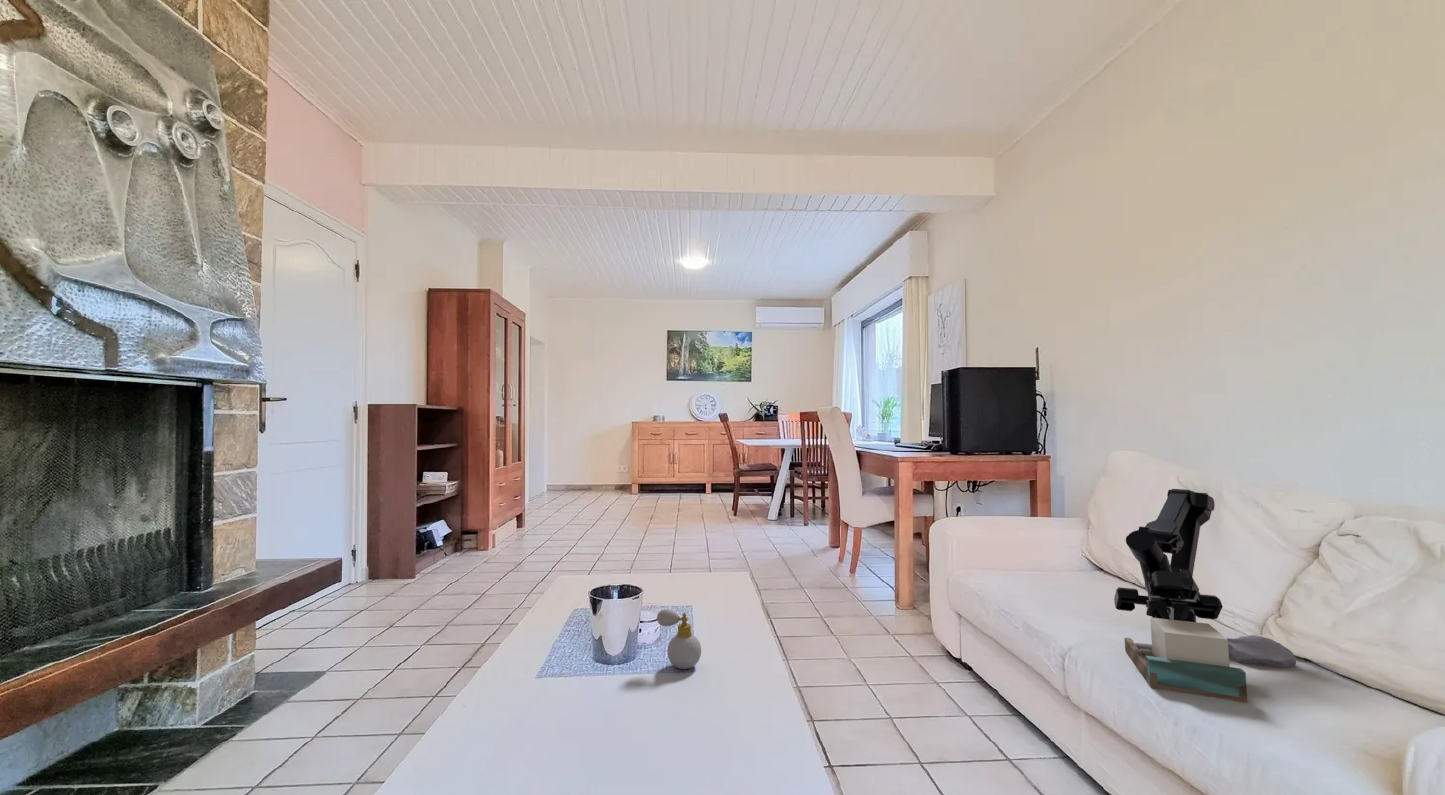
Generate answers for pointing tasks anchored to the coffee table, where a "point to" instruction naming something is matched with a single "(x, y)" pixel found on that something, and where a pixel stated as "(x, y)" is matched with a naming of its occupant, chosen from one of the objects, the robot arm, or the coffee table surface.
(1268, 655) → the stone block
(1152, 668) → the roller bed
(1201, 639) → the limestone slab
